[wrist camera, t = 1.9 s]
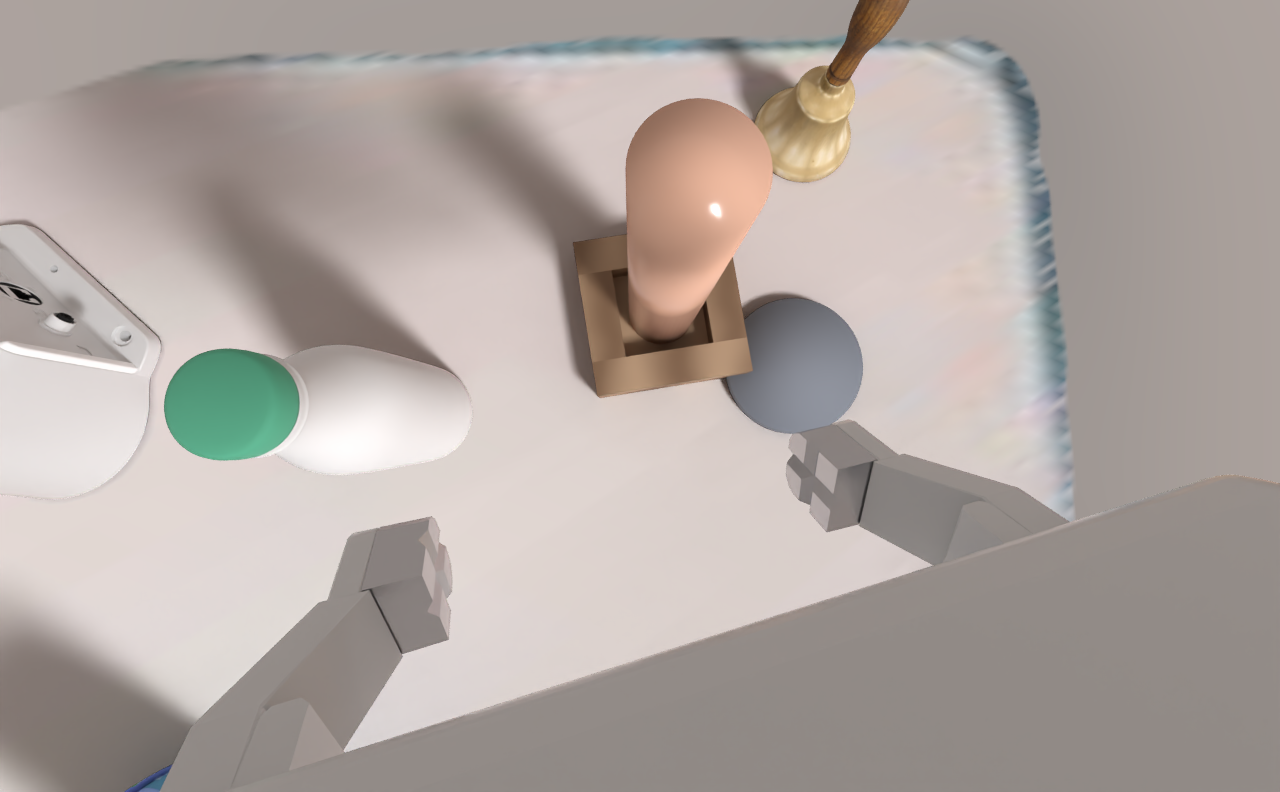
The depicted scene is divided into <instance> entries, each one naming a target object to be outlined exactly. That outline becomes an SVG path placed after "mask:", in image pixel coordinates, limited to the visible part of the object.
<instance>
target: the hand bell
mask: <svg viewBox="0 0 1280 792" xmlns="http://www.w3.org/2000/svg"><path fill="white" fill-rule="evenodd" d="M908 2H909V0H859V2H858V4H857V6H856V9H855V11H854V13H853V16H852V19H851V21H850V25H849V29H848V34H847V38H846V41H845V43H844V45H843V46H842V48H841V49H840V51H839V52H838V54H837V56H836V57H835V59H834V60H833V62H832V63H831V64H830V66H819V67H815V68H813V69H811V70H809V71H808V72H807V73H805V74H804V75H803V76H802V78H801V79H800V81H799V82H798V84H797V85H796V86H795V87H792V88H788V89H785V90H783V91H781V92H779V93H777V94H775V95H774V96H772V97H771V98H770V99H769V100H767V101H766V103H765V104H764V105H763V106H762V108H761V109H760V111H759V113H758V114H757V117H756V120H755V123H754V124H755V125H756V126H757V127H758V129H759V130H760V132H761V133H762V135H763V136H764V138H765V140H766V142H767V145H768V147H769V150H770V154H771V158H772V166H773V172H774V173H775V174H776V175H778V176H780V177H782V178H785V179H787V180H790V181H795V182H812V181H816V180H820V179H822V178H824V177H826V176H828V175H830V174H831V173H833V172H834V171H835V170H836V169H837V168H838V167H839V166H840V165H841V163H842V162H843V160H844V159H845V157H846V155H847V153H848V150H849V146H850V138H851V132H850V125H849V121H848V118H847V117H848V115H849V113H850V111H851V109H852V107H853V104H854V101H855V89H854V86H853V83H852V81H851V79H850V78H851V76H852V74H853V73H854V71H855V69H856V68H857V66H858V64H859V62H860V61H861V59H862V58H863V56H864V55H865V54H866V53H867V52H868V51H869V50H870V49H871V48H872V47H874V46H875V45H876V44H877V43H879V42H880V41H881V40H882V39H883V38H884V37H885V36H886V35H887V33H888V32H889V31H890V30H891V29H892V27H893V26H894V25H895V24H896V22H897V21H898V19H899V17H900V16H901V15H902V13H903V12H904V10H905V8H906V6H907V4H908Z"/></svg>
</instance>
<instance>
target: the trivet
mask: <svg viewBox="0 0 1280 792" xmlns="http://www.w3.org/2000/svg"><path fill="white" fill-rule="evenodd" d="M744 323H745V329H746V335H747V340H748V346H749V352H750V357H751V363H752V368H753V371H751V372H749V373H746V374H740V375H734V376H728V377H726V380H727V385H728V387H729V390H730V393H731V395H732V397H733V399H734V401H735V402H736V404H737V405H738V407H739V408H740V409H741V410H742V411H743V412H744V414H745V415H747V416H748V417H749V418H750V419H751V420H753V421H754V422H756V423H757V424H759V425H760V426H763V427H765V428H767V429H769V430H772V431H776V432H781V433H789V434H793V433H797V432H802V431H806V430H810V429H814V428H819V427H823V426H827V425H830V424H832V423H834V422H835V421H837V420H838V419H839V418H840V417H841V416H842V415H844V414H845V412H846V411H847V410H848V409H849V408H850V406H851V405H852V403H853V402H854V400H855V398H856V396H857V394H858V391H859V388H860V385H861V380H862V375H863V362H862V354H861V350H860V347H859V344H858V341H857V339H856V337H855V335H854V333H853V331H852V330H851V328H850V327H849V326H848V324H847V323H846V322H845V321H844V320H843V319H842V318H841V317H840V316H839V315H838V314H837V313H835V312H834V311H833V310H831V309H829V308H828V307H826V306H824V305H822V304H820V303H817V302H814V301H811V300H806V299H797V298H791V299H782V300H777V301H774V302H771V303H768V304H766V305H764V306H762V307H760V308H758V309H757V310H755V311H754V312H753V313H751V314H750V315H749V316H748V317H747V318H746V319H745V320H744Z"/></svg>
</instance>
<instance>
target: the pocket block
mask: <svg viewBox="0 0 1280 792" xmlns="http://www.w3.org/2000/svg"><path fill="white" fill-rule="evenodd" d="M573 247H574V253H575V259H576V265H577V271H578V278H579V284H580V290H581V296H582V303H583V309H584V315H585V321H586V328H587V334H588V340H589V346H590V353H591V359H592V365H593V371H594V378H595V384H596V390H597V396H598V397H599V398H604V397H610V396H616V395H622V394H628V393H634V392H640V391H646V390H653V389H659V388H665V387H671V386H677V385H683V384H689V383H695V382H702V381H708V380H714V379H720V378H726V377H728V376H734V375H740V374H746V373H749V372H751V371H753V368H752V363H751V357H750V352H749V346H748V340H747V335H746V329H745V323H744V318H743V312H742V306H741V301H740V295H739V290H738V284H737V278H736V273H735V267H734V261H733V257H732V258H731V260H730V262H729V263H728V265H727V267H726V268H725V270H724V272H723V273H722V275H721V276H720V278H719V280H718V281H717V283H716V285H715V286H714V288H713V290H712V291H711V293H710V294H709V296H708V298H707V299H706V301H705V303H704V304H703V306H702V308H701V309H700V311H699V312H698V314H697V316H696V317H695V319H694V321H693V322H692V324H691V326H690V327H689V329H688V330H687V332H686V333H685V334H684V335H683V336H682V337H681V338H679V339H678V340H676V341H674V342H671V343H667V344H655V343H651V342H648V341H646V340H644V339H643V338H641V337H640V336H639V335H638V334H637V333H636V332H635V330H634V329H633V327H632V325H631V322H630V319H629V301H628V255H627V234H624V235H618V236H611V237H605V238H598V239H592V240H586V241H579V242H573Z"/></svg>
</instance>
